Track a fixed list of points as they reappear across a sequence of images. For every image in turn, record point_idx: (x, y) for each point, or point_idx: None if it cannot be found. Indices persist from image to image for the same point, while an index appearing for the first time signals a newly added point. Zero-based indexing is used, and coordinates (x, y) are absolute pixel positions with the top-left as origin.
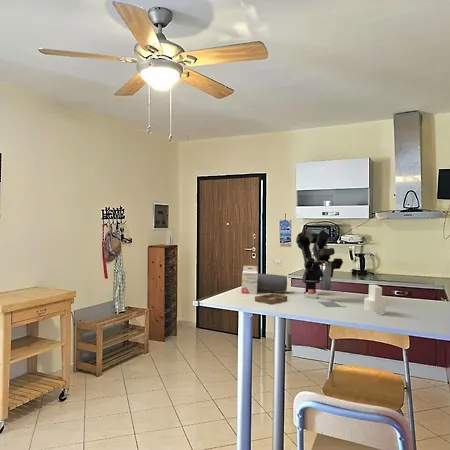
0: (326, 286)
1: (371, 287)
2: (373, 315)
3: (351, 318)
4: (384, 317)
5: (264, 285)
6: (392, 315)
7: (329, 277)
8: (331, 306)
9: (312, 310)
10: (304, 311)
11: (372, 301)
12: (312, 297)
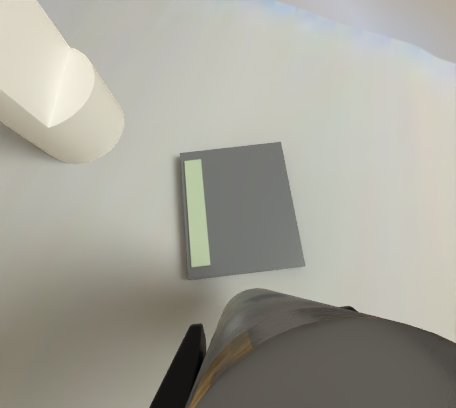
0: (264, 289)
1: (2, 32)
2: (113, 82)
3: (215, 34)
4: None
5: None
6: None
7: (241, 301)
8: (253, 155)
9: (342, 125)
10: (376, 104)
11: (79, 52)
12: None
